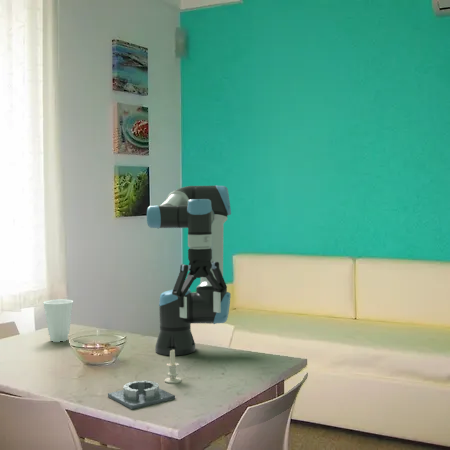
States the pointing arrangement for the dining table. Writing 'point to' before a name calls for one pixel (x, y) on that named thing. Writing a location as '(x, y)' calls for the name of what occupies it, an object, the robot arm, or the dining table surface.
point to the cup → (58, 318)
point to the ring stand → (140, 394)
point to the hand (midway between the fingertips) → (200, 314)
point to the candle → (172, 369)
